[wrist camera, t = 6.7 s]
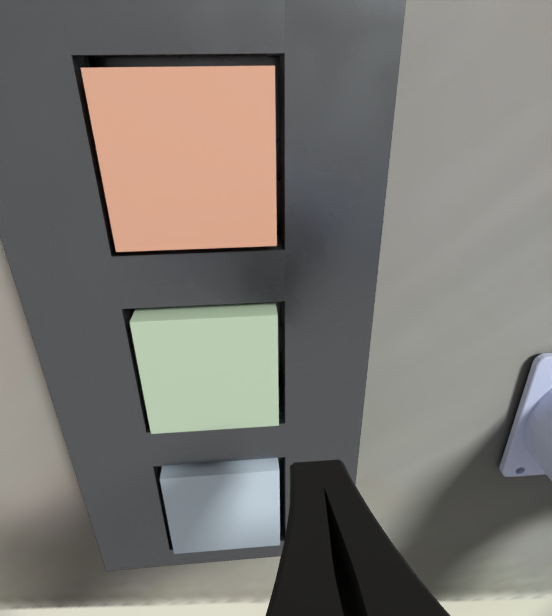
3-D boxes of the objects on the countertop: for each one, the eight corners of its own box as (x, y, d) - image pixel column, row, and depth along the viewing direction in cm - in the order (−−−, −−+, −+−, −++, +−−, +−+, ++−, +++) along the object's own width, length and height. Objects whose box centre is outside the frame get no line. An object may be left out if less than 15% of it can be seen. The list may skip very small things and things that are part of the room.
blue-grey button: (273, 421, 21) (279, 470, 18) (275, 492, 23) (280, 545, 21) (169, 428, 21) (159, 479, 18) (181, 499, 23) (174, 554, 20)
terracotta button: (267, 68, 14) (274, 65, 12) (270, 219, 16) (276, 245, 14) (110, 70, 14) (80, 67, 11) (135, 223, 16) (116, 251, 14)
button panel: (374, 14, 14) (406, -2, 11) (336, 500, 25) (348, 550, 22) (-13, 15, 13) (-75, -1, 11) (120, 516, 24) (106, 570, 21)
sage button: (271, 279, 18) (277, 315, 15) (273, 379, 20) (278, 425, 17) (145, 285, 17) (129, 322, 15) (162, 386, 20) (150, 434, 17)
